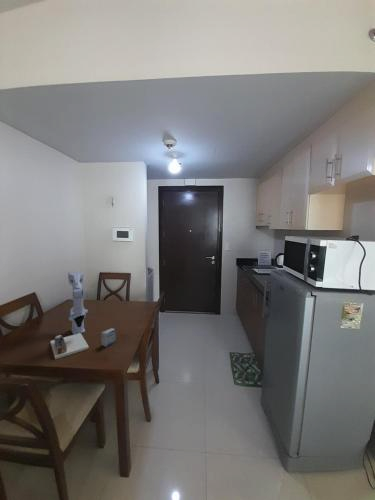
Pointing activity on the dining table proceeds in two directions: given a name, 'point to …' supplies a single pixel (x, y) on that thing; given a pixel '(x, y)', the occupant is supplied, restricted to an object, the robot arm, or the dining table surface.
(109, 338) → the medicine box
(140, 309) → the dining table surface
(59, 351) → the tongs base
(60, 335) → the tongs arm
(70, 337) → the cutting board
